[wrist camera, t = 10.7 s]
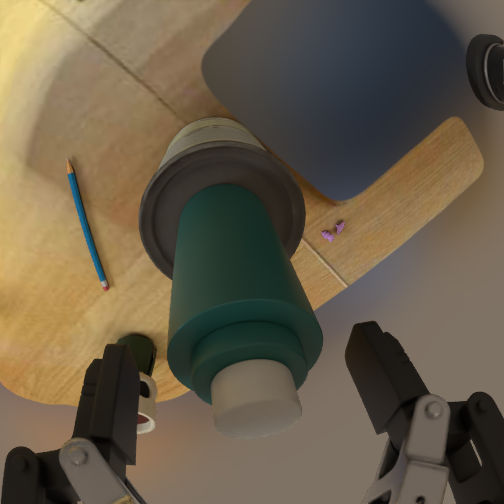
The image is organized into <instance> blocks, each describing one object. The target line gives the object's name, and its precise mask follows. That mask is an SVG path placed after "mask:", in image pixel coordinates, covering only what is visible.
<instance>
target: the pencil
mask: <svg viewBox="0 0 504 504" xmlns="http://www.w3.org/2000/svg"><path fill="white" fill-rule="evenodd" d="M67 174H68V178H69V182H70V186H71V190H72V194H73V198H74V201H75V205H76V209H77V212H78V216H79V219H80V222H81V226H82V229H83V232H84V235H85V238H86V242H87V245H88V248H89V251H90V254H91V256H92V259H93V262H94V265H95V268H96V271H97V273H98V276H99V279H100V281H101V284H102V287H103V289H104V291H108V290H109V287H108V284H107V282H106V279H105V276H104V273H103V271H102V268H101V265H100V262H99V259H98V256H97V253H96V250H95V247H94V244H93V241H92V238H91V234H90V231H89V228H88V225H87V221H86V218H85V214H84V211H83V207H82V203H81V200H80V196H79V192H78V188H77V184H76V180H75V175H74V171H73V169H72V167H71V164H70V162H69V160H68V158H67Z"/></svg>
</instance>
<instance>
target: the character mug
mask: <svg viewBox="0 0 504 504" xmlns="http://www.w3.org/2000/svg"><path fill="white" fill-rule="evenodd" d="M116 344H128V345H129V347H130V350H131V352H132V355H133V357H134V360H135V362H136V365H137V367H138V370H139V374H140V396H139V408H138V422H137V434H140V433H146V432H149V431H151V430H153V429H154V427H155V425H156V412H157V411H156V404H155V399H156V396H157V387H156V383H155V381H154V380H153V379H152V378H151V376H152V372H153V368H154V364H155V358H156V351H157V349H155V354H154V358H153V352H152V348H153V343H152V342H151V341H149V340H148V339H146V338H144V337H141V336H137V335H133V336H127V337H124V338H122V339H119V340H118V341H117V343H116Z"/></svg>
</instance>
